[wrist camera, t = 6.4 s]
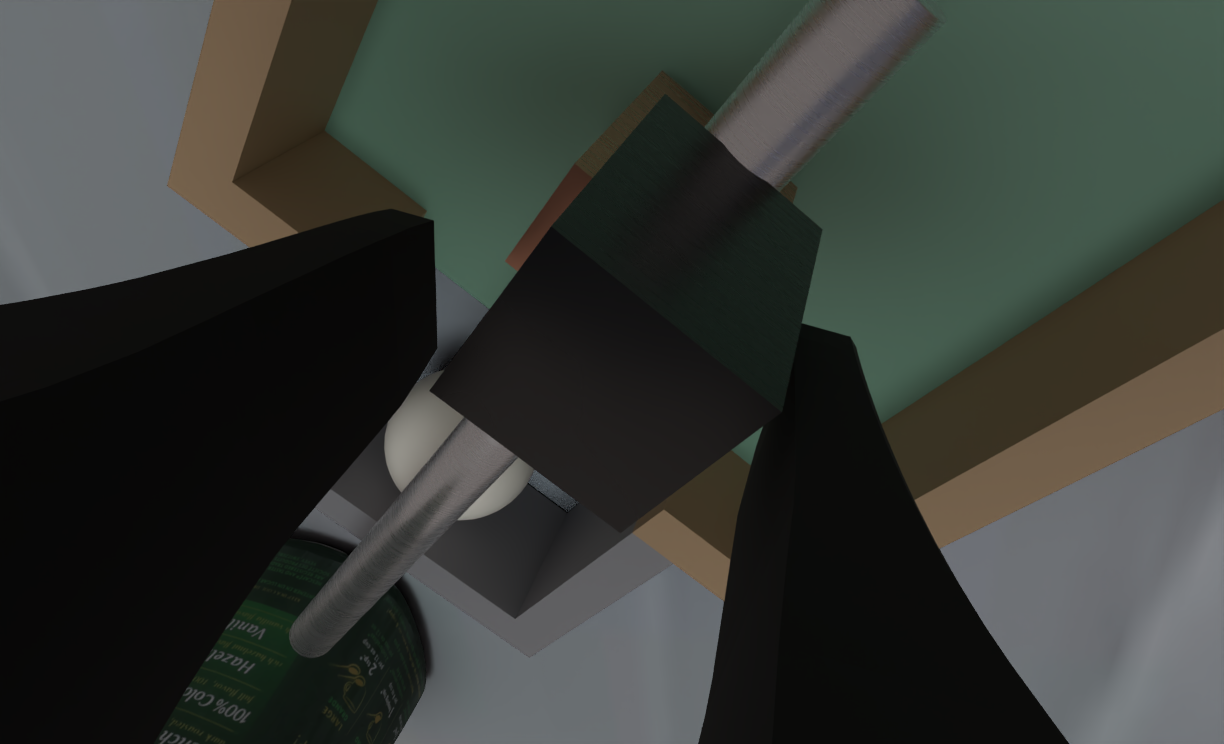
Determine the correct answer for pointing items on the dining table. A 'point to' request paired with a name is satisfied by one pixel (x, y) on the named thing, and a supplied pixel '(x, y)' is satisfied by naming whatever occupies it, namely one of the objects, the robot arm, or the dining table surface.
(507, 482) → the ball
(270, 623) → the coffee jar
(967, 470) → the pitch
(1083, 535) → the dining table surface
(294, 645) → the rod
